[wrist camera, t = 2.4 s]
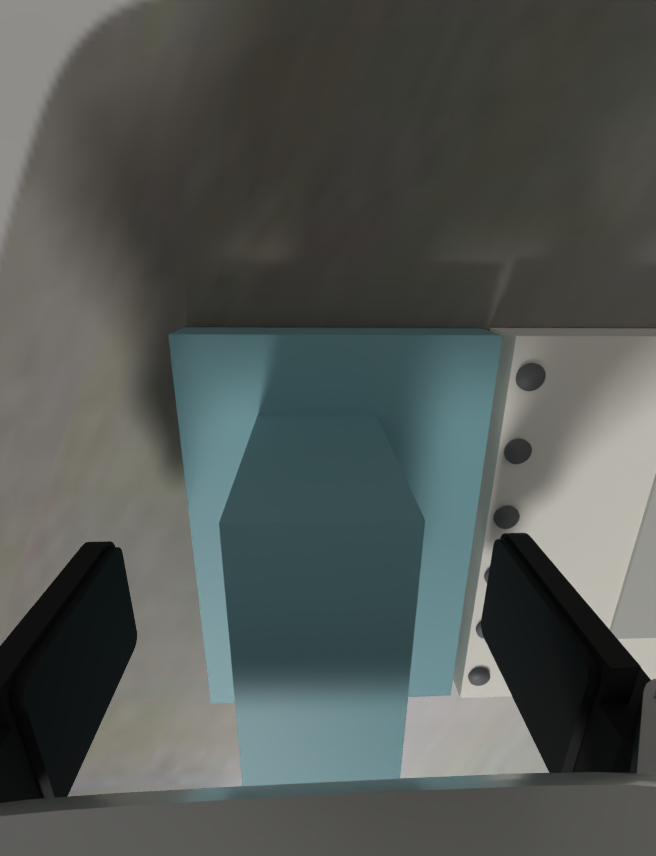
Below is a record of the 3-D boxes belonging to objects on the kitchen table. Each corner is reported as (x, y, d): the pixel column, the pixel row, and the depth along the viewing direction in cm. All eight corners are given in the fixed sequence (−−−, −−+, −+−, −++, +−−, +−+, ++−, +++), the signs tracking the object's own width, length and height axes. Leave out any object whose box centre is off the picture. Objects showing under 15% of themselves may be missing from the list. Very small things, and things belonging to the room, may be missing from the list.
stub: (480, 328, 12) (659, 386, 6) (438, 660, 16) (517, 897, 10) (184, 327, 11) (46, 389, 5) (219, 666, 16) (162, 915, 10)
